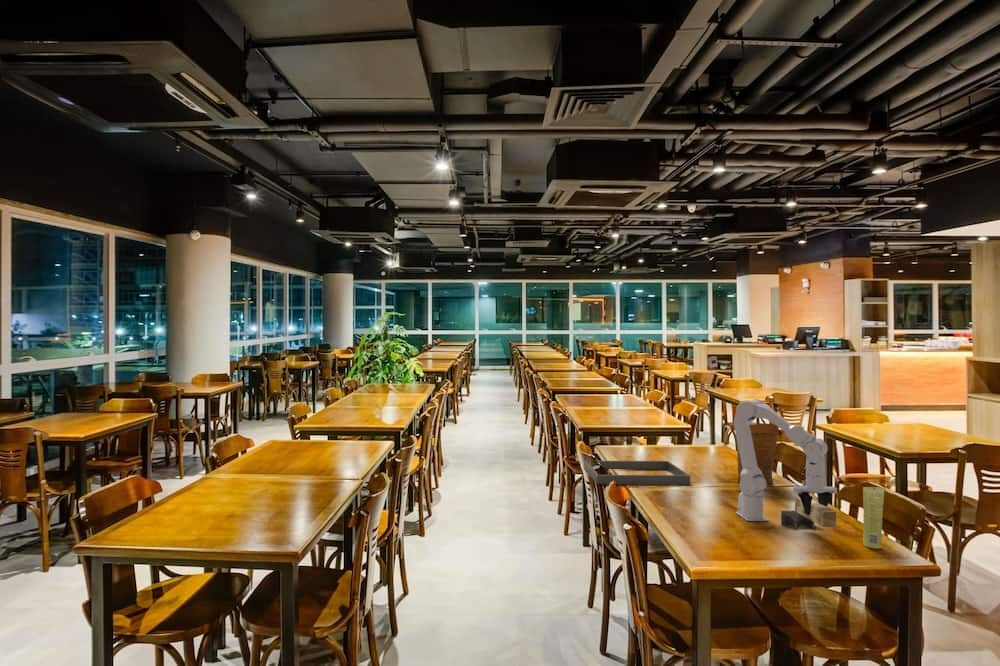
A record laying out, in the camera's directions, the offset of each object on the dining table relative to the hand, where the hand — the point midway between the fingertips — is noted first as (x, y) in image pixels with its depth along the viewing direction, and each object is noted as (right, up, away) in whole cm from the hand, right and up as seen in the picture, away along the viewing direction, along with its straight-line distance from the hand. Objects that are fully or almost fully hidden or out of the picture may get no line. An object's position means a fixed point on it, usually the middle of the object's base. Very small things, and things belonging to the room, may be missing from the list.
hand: (814, 513), depth 195 cm
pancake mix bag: (+9, -7, +64) cm, 65 cm away
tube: (+14, -8, -10) cm, 19 cm away
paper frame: (-45, -6, +73) cm, 86 cm away
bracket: (-1, -7, +8) cm, 10 cm away
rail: (0, -2, 0) cm, 2 cm away
